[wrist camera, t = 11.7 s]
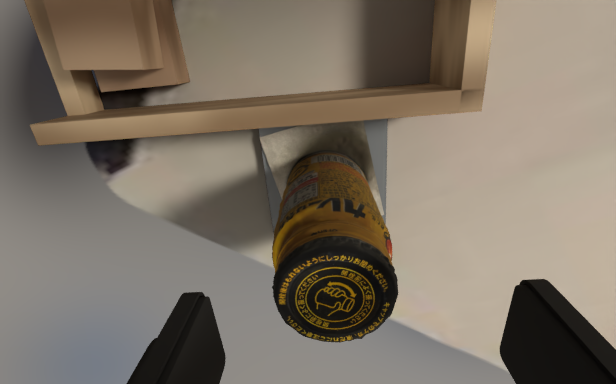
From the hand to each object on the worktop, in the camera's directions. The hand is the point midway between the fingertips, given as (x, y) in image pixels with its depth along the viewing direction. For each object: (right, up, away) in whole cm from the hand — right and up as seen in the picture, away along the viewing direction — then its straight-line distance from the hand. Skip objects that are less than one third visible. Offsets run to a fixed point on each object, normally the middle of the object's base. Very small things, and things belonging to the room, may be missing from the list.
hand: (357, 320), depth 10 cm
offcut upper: (-13, +15, +8) cm, 21 cm away
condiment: (0, +5, +14) cm, 15 cm away
